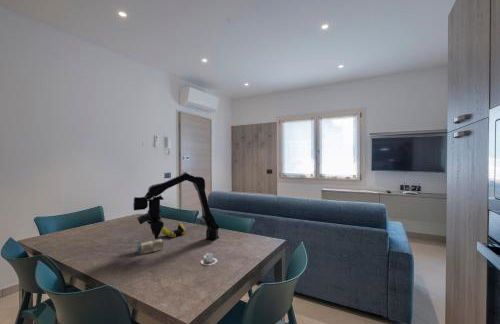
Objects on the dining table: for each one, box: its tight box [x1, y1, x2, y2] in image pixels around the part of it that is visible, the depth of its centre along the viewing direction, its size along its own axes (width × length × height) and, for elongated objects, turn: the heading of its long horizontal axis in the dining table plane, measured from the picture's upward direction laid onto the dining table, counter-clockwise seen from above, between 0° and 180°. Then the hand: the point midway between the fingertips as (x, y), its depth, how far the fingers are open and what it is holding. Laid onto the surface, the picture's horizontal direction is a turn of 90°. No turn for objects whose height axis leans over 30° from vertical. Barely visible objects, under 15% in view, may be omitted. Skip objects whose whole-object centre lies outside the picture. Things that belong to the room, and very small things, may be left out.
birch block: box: [136, 238, 164, 255], centre depth 125 cm, size 4×4×12 cm
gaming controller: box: [161, 223, 187, 238], centre depth 151 cm, size 15×6×10 cm
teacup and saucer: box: [200, 252, 218, 266], centre depth 111 cm, size 9×8×4 cm
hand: (154, 236), depth 126 cm, fingers open, 9 cm apart
